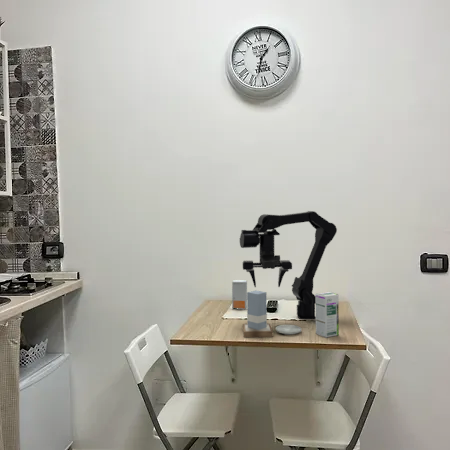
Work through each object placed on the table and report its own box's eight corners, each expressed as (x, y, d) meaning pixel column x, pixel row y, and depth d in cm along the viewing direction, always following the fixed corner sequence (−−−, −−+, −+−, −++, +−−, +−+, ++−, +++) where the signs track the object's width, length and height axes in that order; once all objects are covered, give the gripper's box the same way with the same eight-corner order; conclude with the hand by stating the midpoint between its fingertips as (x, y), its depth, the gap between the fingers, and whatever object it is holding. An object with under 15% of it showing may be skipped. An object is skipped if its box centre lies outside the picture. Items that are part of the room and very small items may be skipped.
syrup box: (325, 338, 163) (326, 295, 162) (315, 333, 169) (315, 292, 168) (339, 335, 166) (339, 294, 165) (327, 331, 171) (328, 291, 170)
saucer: (299, 328, 175) (299, 324, 175) (303, 336, 166) (303, 331, 166) (274, 329, 175) (274, 324, 175) (277, 336, 166) (277, 331, 166)
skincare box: (232, 309, 206) (231, 281, 205) (233, 307, 210) (233, 279, 209) (246, 309, 205) (245, 281, 204) (247, 307, 209) (247, 280, 208)
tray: (270, 328, 175) (270, 323, 175) (272, 336, 165) (272, 331, 165) (242, 329, 175) (242, 323, 175) (243, 337, 165) (243, 331, 165)
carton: (255, 324, 174) (255, 290, 173) (266, 327, 170) (266, 292, 169) (247, 327, 170) (247, 292, 170) (258, 329, 167) (258, 294, 166)
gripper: (243, 249, 177) (243, 291, 178) (294, 249, 177) (294, 291, 178) (242, 246, 189) (242, 285, 189) (290, 246, 189) (290, 285, 190)
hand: (267, 287), depth 186 cm, fingers open, 9 cm apart
